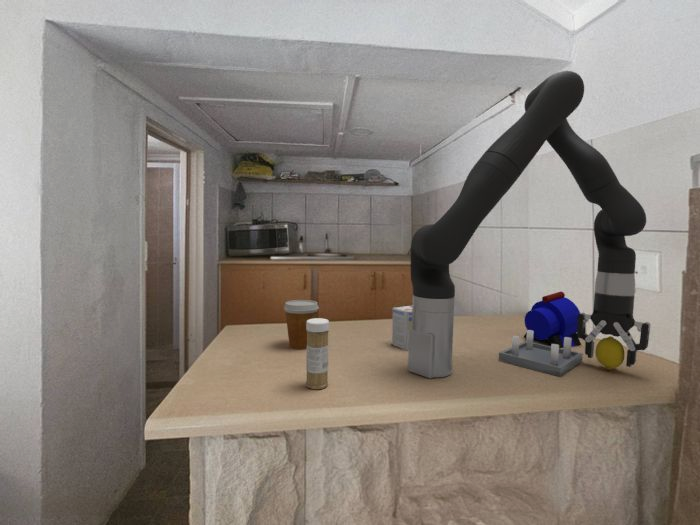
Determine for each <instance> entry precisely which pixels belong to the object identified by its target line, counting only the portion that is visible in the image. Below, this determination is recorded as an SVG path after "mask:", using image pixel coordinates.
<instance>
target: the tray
mask: <svg viewBox="0 0 700 525" xmlns="http://www.w3.org/2000/svg"><path fill="white" fill-rule="evenodd" d="M526 332H527V337H526V340H524V341H523V342H520V336H519V335H512V337H511V341H512V342H511V346H510V347H509V348H506V349H504V350H502V351H499V352H498V362H504V363H506V362H507V364H510V365H514V366H519V367H521V366H522V367H523V368H526V369H530V370H532V371H537V372H540V373H545V374H548V375H552V376H556V377H560V378H561V377H562V376H563V375H566V373H568V372H569V371H571V370H572V369H573V368H575V367H576V366H577V365H579V364H580V363H582V362H583V353H582V352H578V351H573V350H572V347H571V341H572V338H569V337H564V348H559V345H558V344H551V343H550V344H551V345H545V344H541V343H537V342H534V337H533V333H534V331H532V330H527V329H526Z"/></svg>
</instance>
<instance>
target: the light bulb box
mask: <svg viewBox="0 0 700 525" xmlns="http://www.w3.org/2000/svg"><path fill="white" fill-rule="evenodd" d="M391 327H392V328H391V329H392V334H391V344H392V345H393V346H395V347H398V348H400V349H402V350H405V351H409V330H411V329H412V305H407V306H405V305H404V306H398V307H392V326H391Z"/></svg>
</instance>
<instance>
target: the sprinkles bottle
mask: <svg viewBox="0 0 700 525" xmlns="http://www.w3.org/2000/svg"><path fill="white" fill-rule="evenodd" d="M306 330H307V349H306V358H305V359H306V361H305V363H306V364H305V366H306V368H305V370H306V382H305V385H306V387H307V388H309V389H312V390H323V389H325V388H326V387H327V386H328V385H329V381H328V377H329V376H328V374H329V373H328V372H329V371H328V370H329V331H330V321H329V319H327V318H321V317H318V318H317V317H316V318H314V319H309V320H307V322H306Z"/></svg>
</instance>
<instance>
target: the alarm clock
mask: <svg viewBox="0 0 700 525" xmlns="http://www.w3.org/2000/svg"><path fill="white" fill-rule="evenodd" d="M565 296H566V294H565V292H563V291H558V292H554V293H551V294H547V295H544V296H542V297H541V300H539V301H537V302H535V303H534V304H533V305H532V306H531V308H530V310H528V311H527V312H526V313H525V316H524V326H525V329H526V332H525V334H524V335H523V338H527V330H532V331H534V333H533V339H537V341H544V340H547V341H548V342H549V343H550V344H558V345H559V348H560V349H563V348H564V337H569V338H572V341H571V348H573V347H580V346H579V345H581V346H582V343H581V341H580V338H578V337H577V315H578V314H580V313H581V312H580V311H581V310H580V309H579V307H578V306H577V305H576V303H574V301H572V300H571V299H569V298H568V297H565Z"/></svg>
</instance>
